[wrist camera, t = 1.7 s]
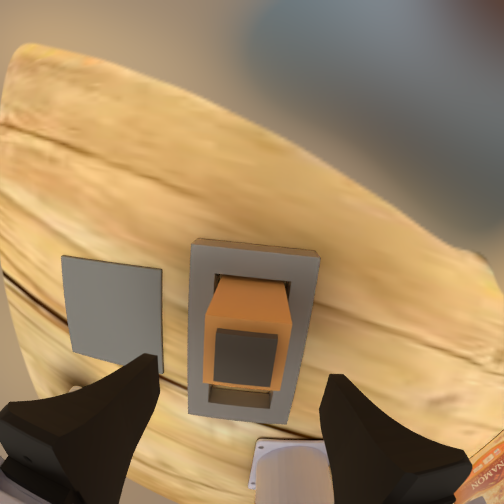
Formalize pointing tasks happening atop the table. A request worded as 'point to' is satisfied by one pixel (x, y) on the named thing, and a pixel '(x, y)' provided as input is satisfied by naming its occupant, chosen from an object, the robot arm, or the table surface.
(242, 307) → the plug
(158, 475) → the table surface
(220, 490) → the table surface
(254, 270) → the grey flat frame
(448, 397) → the table surface
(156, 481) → the table surface
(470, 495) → the coffeecake box
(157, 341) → the mat
